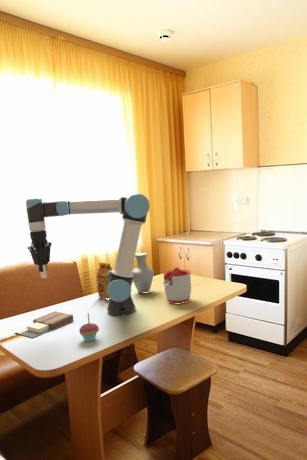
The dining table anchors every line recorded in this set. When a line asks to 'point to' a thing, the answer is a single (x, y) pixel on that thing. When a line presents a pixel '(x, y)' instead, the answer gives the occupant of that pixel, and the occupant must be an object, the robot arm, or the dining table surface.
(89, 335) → the cupcake
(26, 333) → the mat
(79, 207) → the robot arm
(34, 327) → the tile
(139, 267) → the vase
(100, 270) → the coffee package
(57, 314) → the board
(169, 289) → the citrus juicer
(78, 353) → the dining table surface
